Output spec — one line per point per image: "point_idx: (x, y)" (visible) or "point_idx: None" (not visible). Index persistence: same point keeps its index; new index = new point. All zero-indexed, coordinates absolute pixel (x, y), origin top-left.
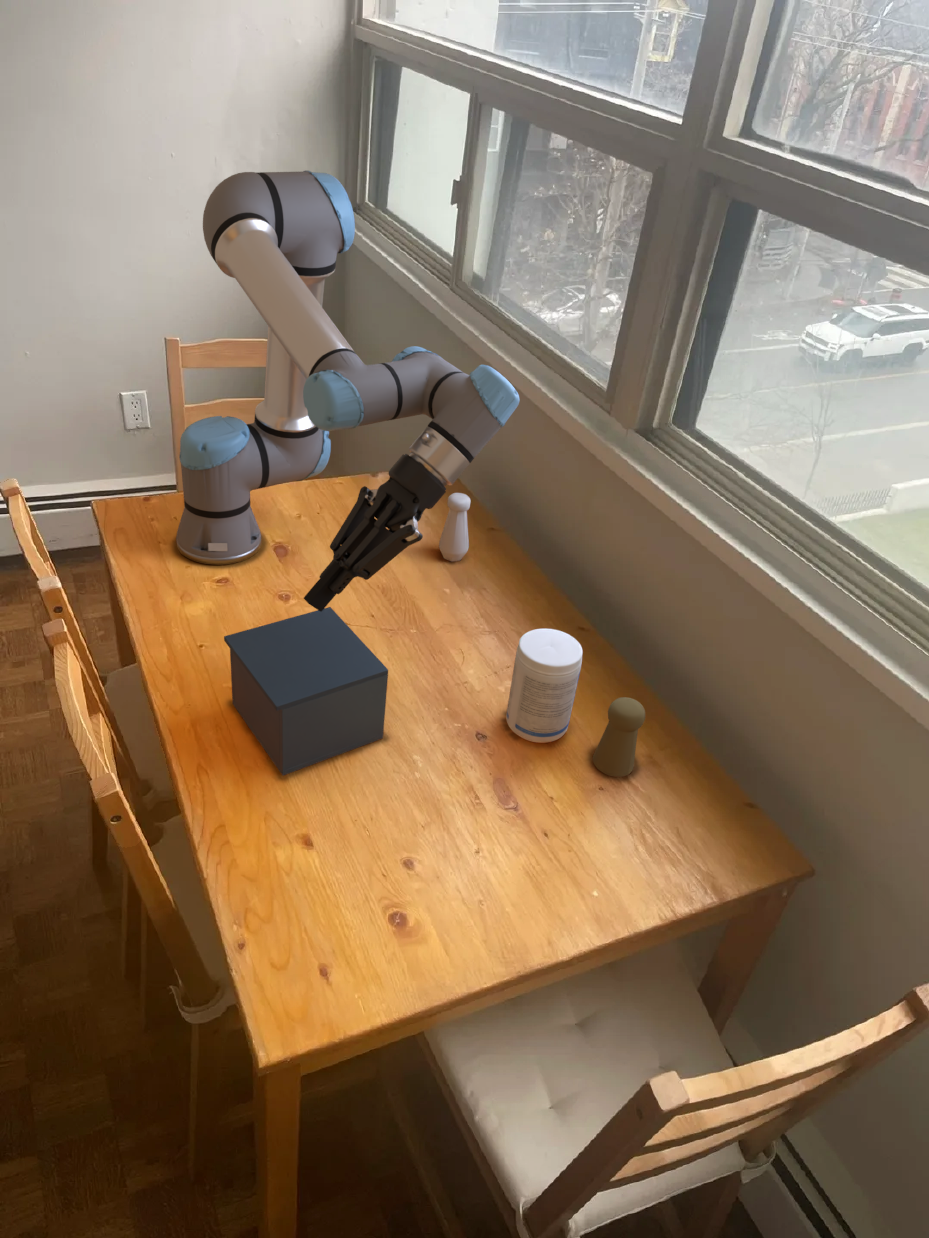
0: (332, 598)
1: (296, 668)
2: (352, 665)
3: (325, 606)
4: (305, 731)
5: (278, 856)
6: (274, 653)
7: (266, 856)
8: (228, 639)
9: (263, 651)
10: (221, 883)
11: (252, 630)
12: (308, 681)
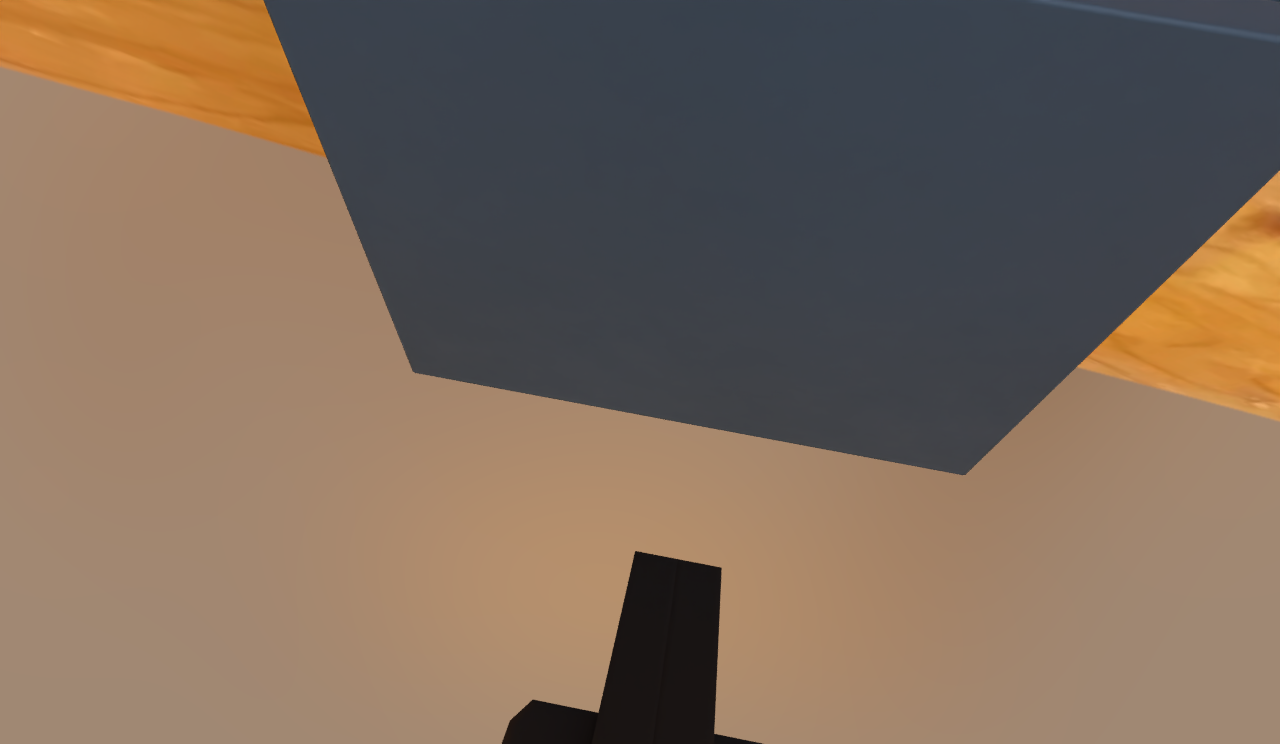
0: (716, 650)
1: (808, 353)
2: (1048, 195)
3: (719, 600)
4: None
5: (1225, 287)
6: (634, 344)
7: (1189, 300)
8: (444, 376)
9: (593, 356)
10: (1138, 371)
11: (404, 309)
12: (940, 372)
